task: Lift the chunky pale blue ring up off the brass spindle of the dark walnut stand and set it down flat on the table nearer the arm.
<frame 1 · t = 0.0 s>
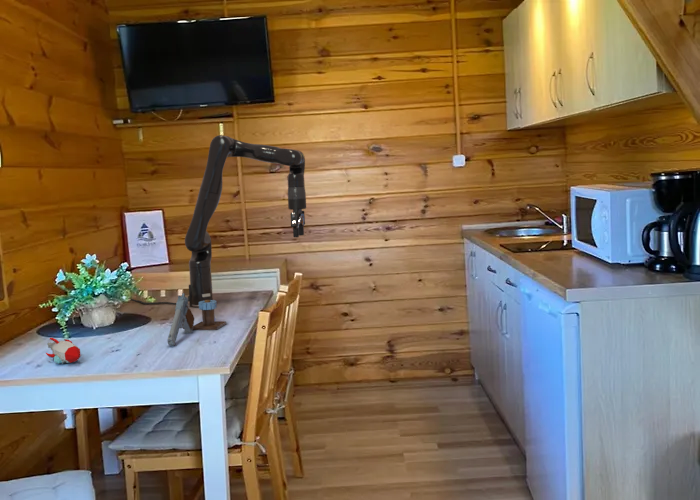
hand: (298, 236, 282), 29 cm above the table, tool pointing down, fingers open, 8 cm apart
handgun: (181, 339, 231), on the table
stand: (209, 326, 248), on the table
toy: (62, 360, 213), on the table
ring: (207, 308, 248), point 7 cm above the table, touching stand
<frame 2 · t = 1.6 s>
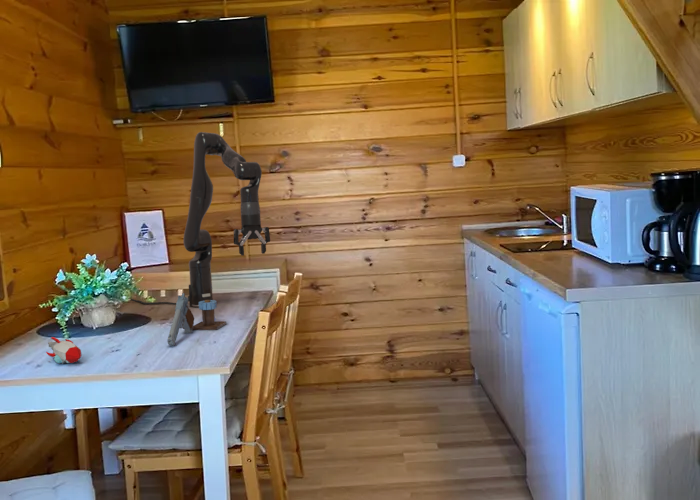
hand: (252, 254, 263), 24 cm above the table, tool pointing down, fingers open, 8 cm apart
nothing on the table moved.
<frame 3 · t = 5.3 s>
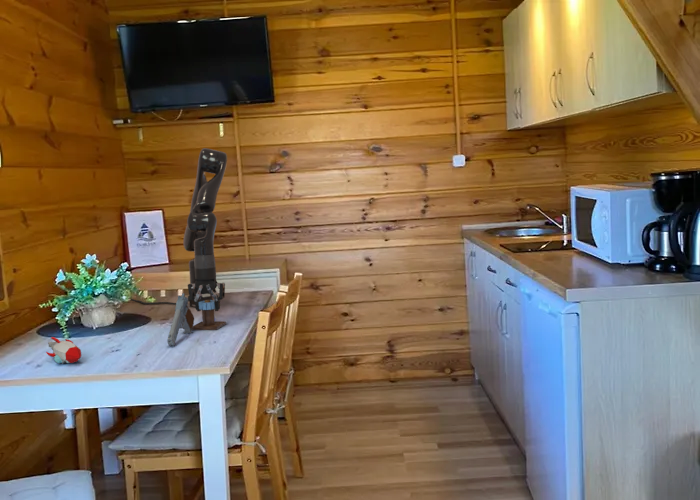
hand: (208, 310, 248), 6 cm above the table, tool pointing down, fingers closed on ring, 6 cm apart
ring: (207, 308, 248), point 7 cm above the table, touching gripper, stand
everything else where it was.
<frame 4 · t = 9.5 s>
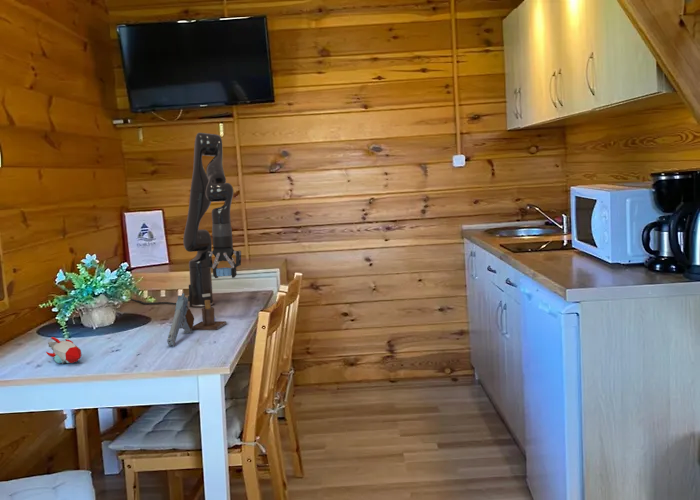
hand: (225, 277, 260), 16 cm above the table, tool pointing down, fingers closed on ring, 6 cm apart
ring: (224, 275, 260), point 17 cm above the table, touching gripper
everything else where it was.
when the fingers open (0 cm above the table, at t = 13.9 s): ring stays where it is, on the table.
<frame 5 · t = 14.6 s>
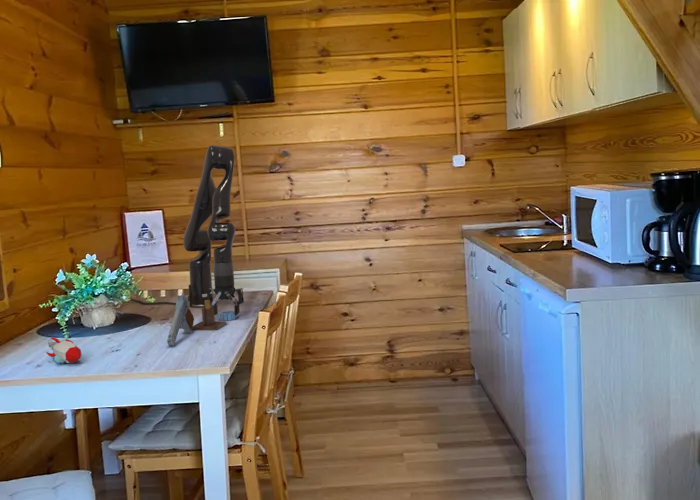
hand: (226, 314, 262), 2 cm above the table, tool pointing down, fingers open, 8 cm apart
ring: (228, 318, 262), on the table, touching gripper
everything else where it was.
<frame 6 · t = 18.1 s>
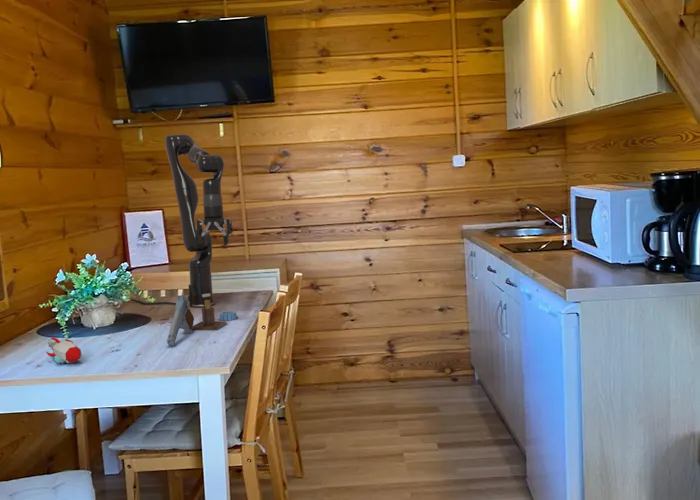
hand: (215, 245, 270), 28 cm above the table, tool pointing down, fingers open, 8 cm apart
ring: (228, 318, 262), on the table
everything else where it was.
at the end: ring inside the target area (0.3 cm from its centre), on the table; ring touching table; ring tilted 0° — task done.
